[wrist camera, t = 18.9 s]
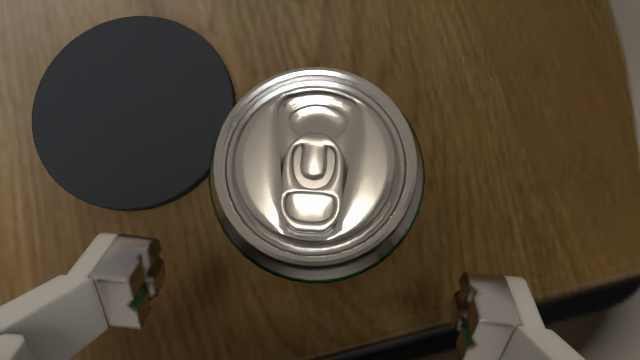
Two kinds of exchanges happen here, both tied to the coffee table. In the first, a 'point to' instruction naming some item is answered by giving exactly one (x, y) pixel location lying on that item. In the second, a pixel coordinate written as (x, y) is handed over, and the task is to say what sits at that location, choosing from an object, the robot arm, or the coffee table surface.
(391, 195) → the soda can
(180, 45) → the coaster
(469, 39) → the coffee table surface
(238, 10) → the coffee table surface
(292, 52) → the coffee table surface
